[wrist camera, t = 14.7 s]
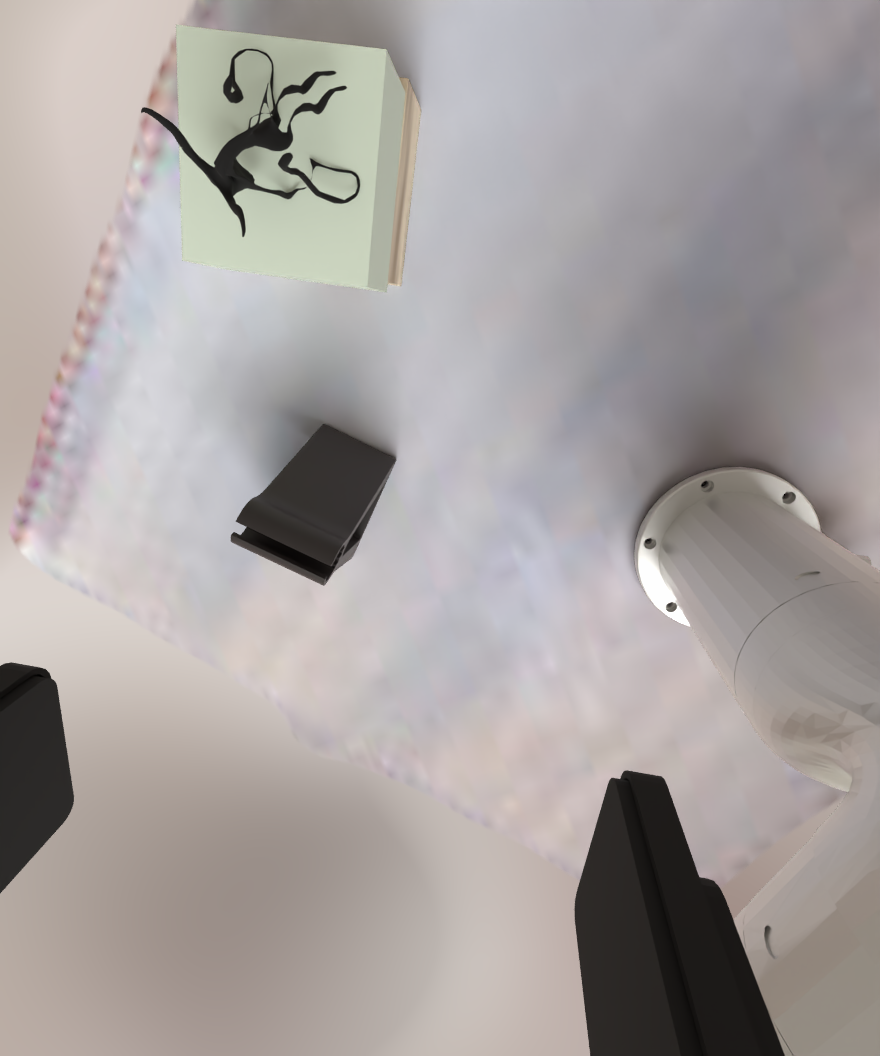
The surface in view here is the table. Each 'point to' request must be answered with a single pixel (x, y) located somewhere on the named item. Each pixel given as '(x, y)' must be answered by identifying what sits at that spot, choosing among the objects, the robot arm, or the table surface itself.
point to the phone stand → (316, 505)
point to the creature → (258, 143)
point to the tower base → (404, 182)
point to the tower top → (328, 138)
